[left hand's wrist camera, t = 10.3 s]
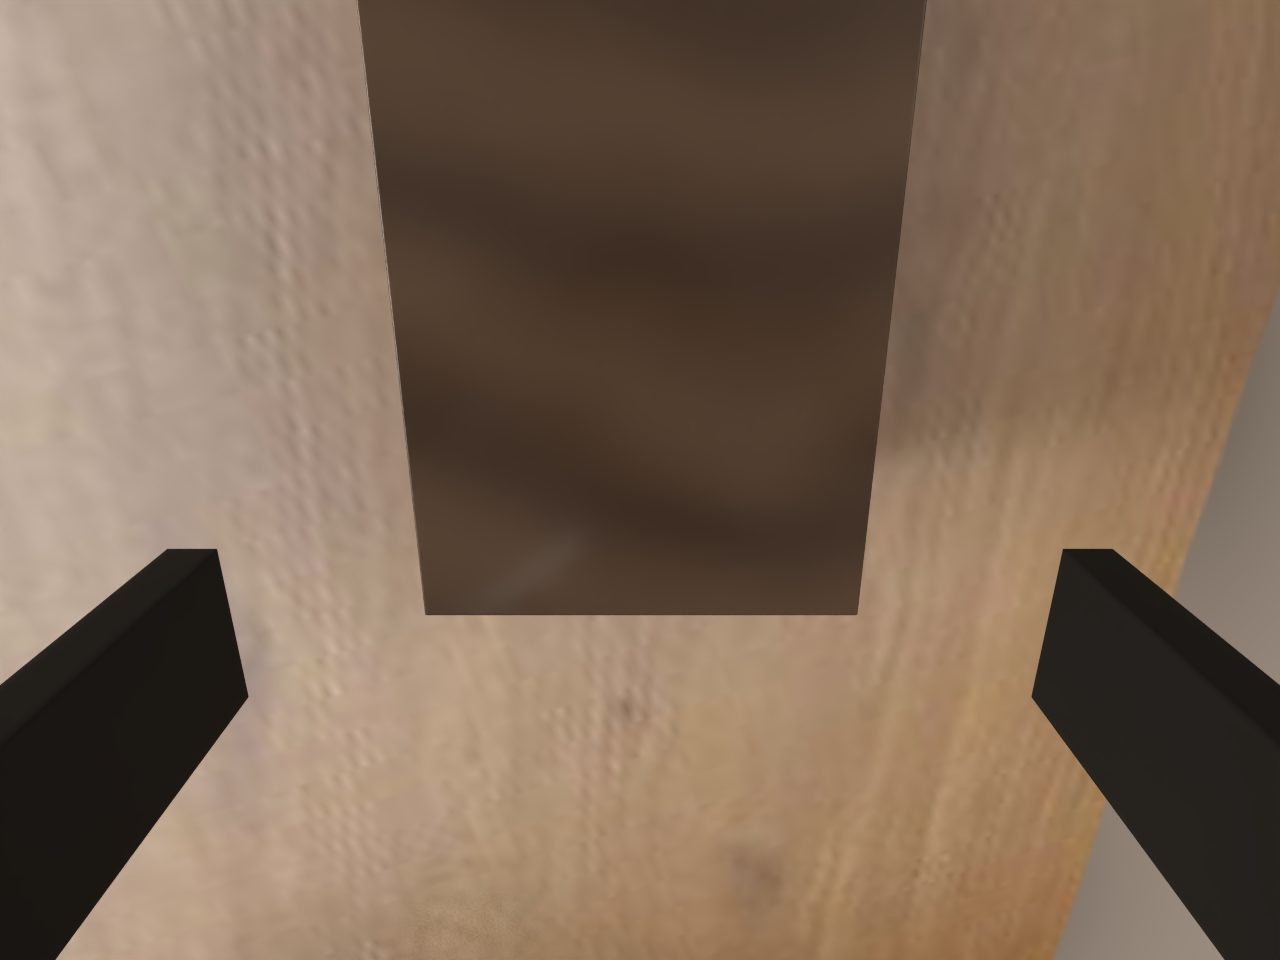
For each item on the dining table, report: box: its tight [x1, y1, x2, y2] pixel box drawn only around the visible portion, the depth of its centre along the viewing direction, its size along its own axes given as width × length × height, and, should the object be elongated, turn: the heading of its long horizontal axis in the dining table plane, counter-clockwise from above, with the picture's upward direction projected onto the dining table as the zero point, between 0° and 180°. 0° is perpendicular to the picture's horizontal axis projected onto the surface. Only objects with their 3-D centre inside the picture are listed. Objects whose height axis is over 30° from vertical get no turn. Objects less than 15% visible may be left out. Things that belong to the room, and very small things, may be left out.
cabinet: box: [356, 0, 927, 615], centre depth 20 cm, size 18×10×10 cm, turn 0°
